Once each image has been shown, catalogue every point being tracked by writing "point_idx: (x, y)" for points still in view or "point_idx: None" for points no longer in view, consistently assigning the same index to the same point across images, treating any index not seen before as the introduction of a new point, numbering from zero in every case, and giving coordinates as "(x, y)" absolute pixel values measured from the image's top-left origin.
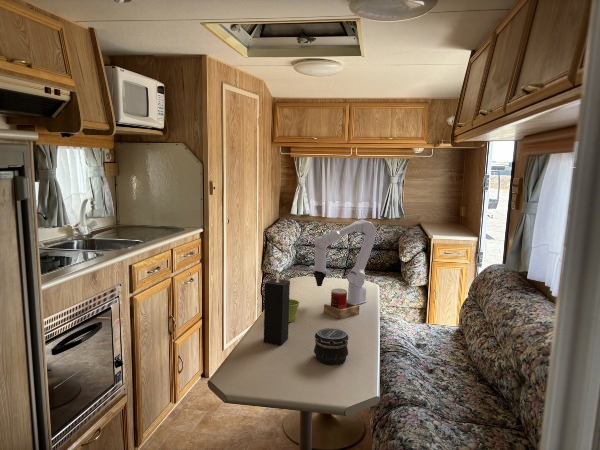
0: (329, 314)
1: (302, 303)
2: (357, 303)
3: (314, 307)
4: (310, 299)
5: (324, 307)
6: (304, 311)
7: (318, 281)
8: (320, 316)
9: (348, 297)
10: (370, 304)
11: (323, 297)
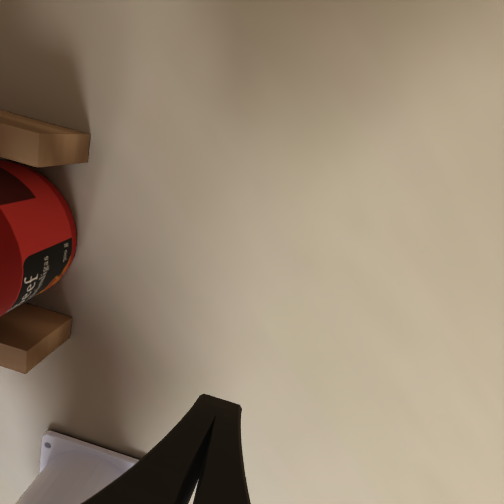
0: (17, 115)
1: (393, 227)
2: (44, 458)
3: (233, 201)
4: (393, 370)
5: (50, 132)
6: (234, 23)
7: (168, 445)
8: (39, 14)
9: (95, 491)
10: (2, 493)
11: (328, 469)
